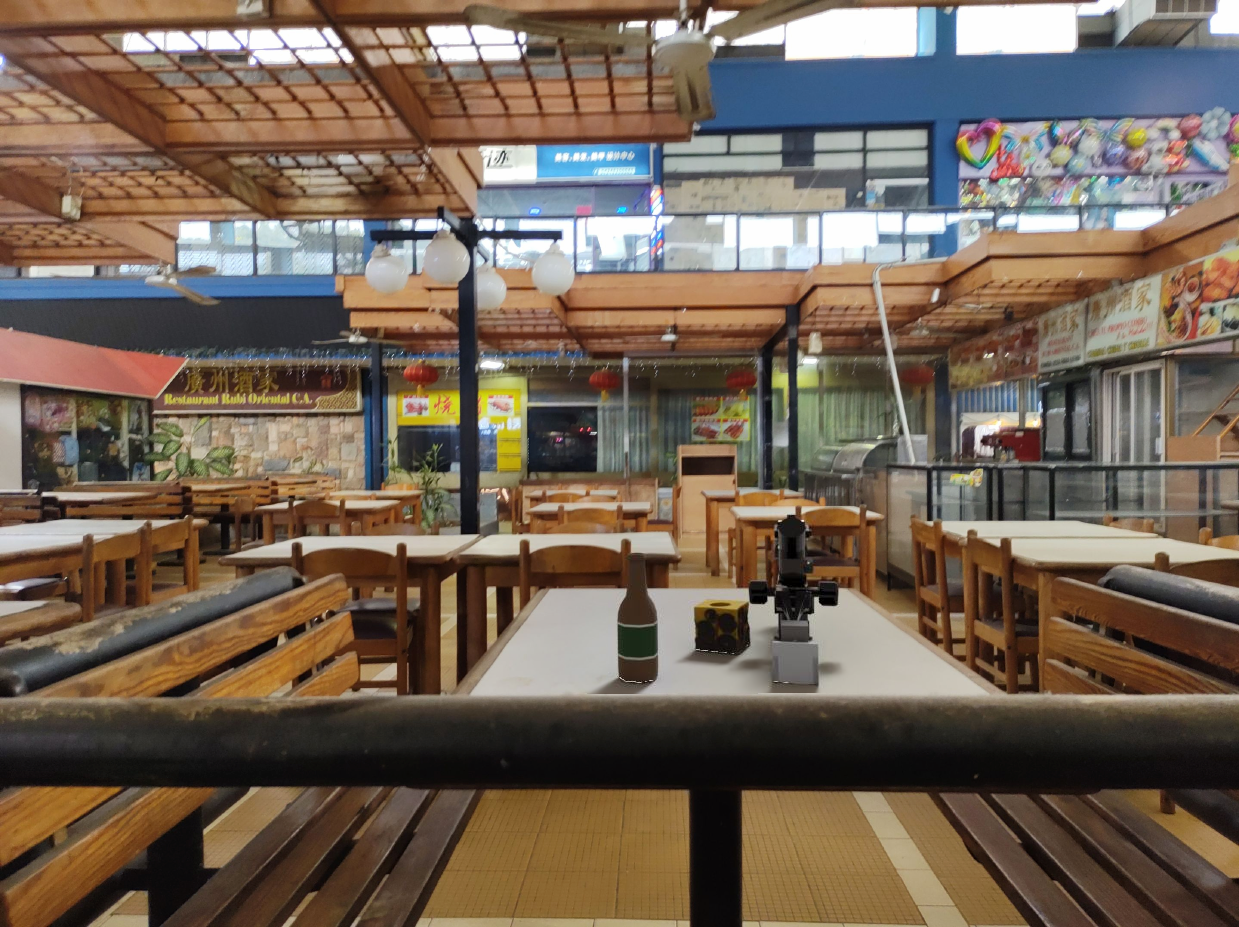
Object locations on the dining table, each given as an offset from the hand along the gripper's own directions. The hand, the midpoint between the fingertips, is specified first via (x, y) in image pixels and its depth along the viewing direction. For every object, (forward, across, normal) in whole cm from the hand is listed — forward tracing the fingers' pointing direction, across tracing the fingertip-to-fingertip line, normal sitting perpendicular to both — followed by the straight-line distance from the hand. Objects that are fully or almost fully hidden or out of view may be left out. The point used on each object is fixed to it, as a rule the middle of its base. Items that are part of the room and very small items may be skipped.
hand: (793, 626), depth 150 cm
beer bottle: (+18, -29, -8) cm, 35 cm away
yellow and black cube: (0, -15, +10) cm, 19 cm away
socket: (+13, 0, -4) cm, 14 cm away
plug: (+13, 0, -4) cm, 14 cm away
